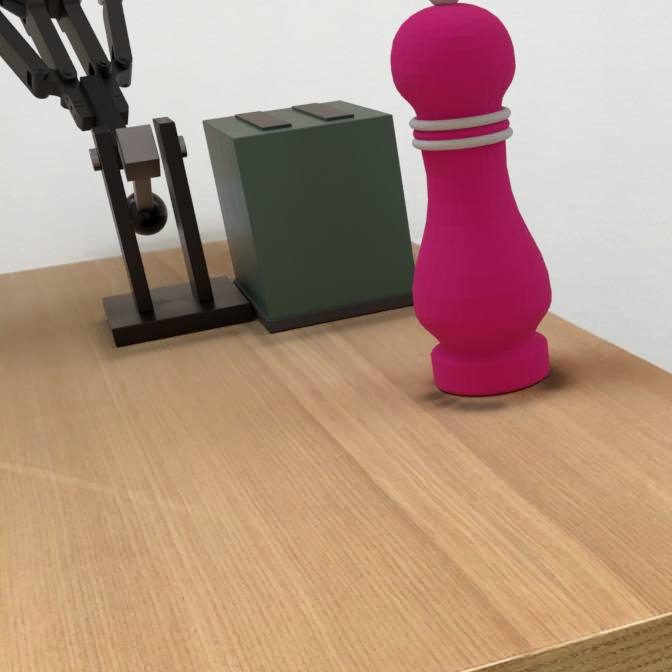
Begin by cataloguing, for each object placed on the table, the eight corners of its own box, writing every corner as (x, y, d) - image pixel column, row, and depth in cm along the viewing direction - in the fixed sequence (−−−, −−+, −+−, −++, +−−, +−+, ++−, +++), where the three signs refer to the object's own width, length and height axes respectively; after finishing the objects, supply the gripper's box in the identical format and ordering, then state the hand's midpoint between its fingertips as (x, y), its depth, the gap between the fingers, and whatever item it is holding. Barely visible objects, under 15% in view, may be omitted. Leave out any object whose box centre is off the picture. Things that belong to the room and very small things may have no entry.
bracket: (105, 314, 88) (57, 128, 82) (231, 290, 90) (192, 109, 85) (116, 347, 79) (62, 142, 74) (254, 320, 82) (212, 120, 76)
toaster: (234, 289, 91) (197, 117, 85) (370, 264, 94) (342, 96, 88) (269, 333, 78) (229, 135, 73) (424, 302, 81) (396, 110, 76)
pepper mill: (398, 391, 65) (331, -21, 56) (479, 350, 70) (430, -33, 62) (507, 406, 61) (453, -34, 52) (585, 362, 66) (548, -46, 58)
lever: (129, 245, 91) (118, 204, 91) (173, 238, 92) (162, 197, 92) (118, 171, 78) (105, 124, 78) (169, 163, 79) (156, 116, 79)
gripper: (-90, -117, 88) (31, 135, 83) (90, -127, 95) (213, 106, 89) (-79, -32, 95) (33, 207, 89) (88, -47, 101) (203, 176, 95)
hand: (123, 156), depth 89 cm, fingers closed
